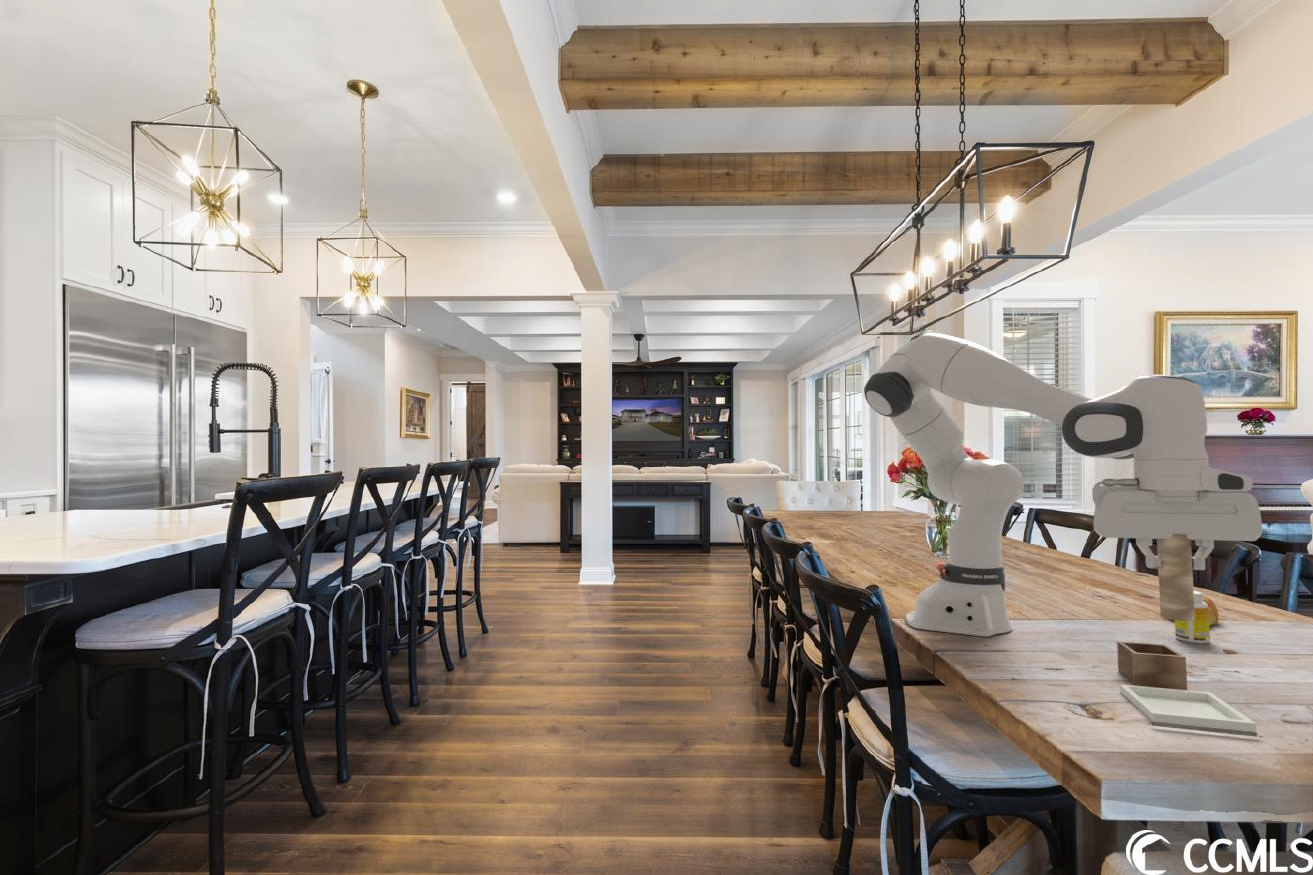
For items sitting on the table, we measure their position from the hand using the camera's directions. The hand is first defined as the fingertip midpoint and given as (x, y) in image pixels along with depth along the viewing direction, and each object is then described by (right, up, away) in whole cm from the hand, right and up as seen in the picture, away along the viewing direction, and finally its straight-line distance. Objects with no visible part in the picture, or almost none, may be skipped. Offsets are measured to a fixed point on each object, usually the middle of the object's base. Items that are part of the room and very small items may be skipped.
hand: (1175, 568), depth 94 cm
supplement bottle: (+34, -23, +36) cm, 55 cm away
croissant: (+47, -24, +52) cm, 74 cm away
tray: (0, -22, -1) cm, 22 cm away
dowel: (0, -8, 0) cm, 8 cm away
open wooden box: (+6, -22, +12) cm, 26 cm away
